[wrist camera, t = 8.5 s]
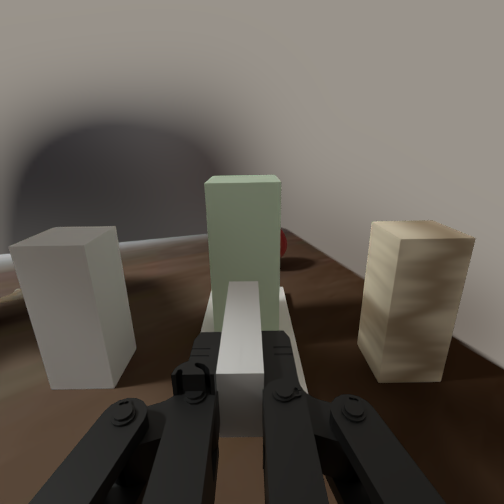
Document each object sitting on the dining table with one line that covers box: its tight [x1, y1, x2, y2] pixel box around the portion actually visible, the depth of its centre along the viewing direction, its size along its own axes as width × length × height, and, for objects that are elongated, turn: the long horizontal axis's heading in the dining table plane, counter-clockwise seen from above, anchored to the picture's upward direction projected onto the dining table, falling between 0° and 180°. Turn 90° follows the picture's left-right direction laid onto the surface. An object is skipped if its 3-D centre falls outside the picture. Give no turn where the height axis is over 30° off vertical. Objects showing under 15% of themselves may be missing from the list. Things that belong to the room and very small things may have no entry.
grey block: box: [9, 226, 137, 390], centre depth 24 cm, size 5×5×12 cm
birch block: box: [357, 220, 475, 383], centre depth 24 cm, size 5×5×12 cm
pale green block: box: [204, 175, 281, 332], centre depth 29 cm, size 6×6×14 cm
